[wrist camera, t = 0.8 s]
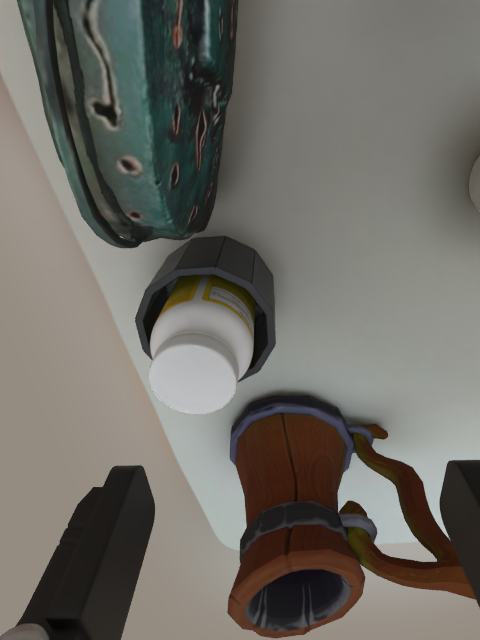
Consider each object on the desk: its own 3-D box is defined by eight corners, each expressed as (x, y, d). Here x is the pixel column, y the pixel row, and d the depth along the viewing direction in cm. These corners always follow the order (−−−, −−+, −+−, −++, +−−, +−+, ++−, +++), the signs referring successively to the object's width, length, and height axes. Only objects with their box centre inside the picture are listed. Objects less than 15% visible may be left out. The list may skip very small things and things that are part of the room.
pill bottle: (181, 327, 31) (142, 425, 21) (172, 254, 28) (121, 331, 18) (257, 327, 31) (252, 427, 21) (256, 253, 28) (249, 331, 18)
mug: (423, 369, 31) (534, 554, 18) (424, 463, 37) (509, 659, 24) (215, 398, 34) (184, 574, 21) (244, 481, 40) (232, 663, 27)
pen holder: (149, 241, 28) (122, 272, 22) (270, 232, 27) (270, 262, 21) (171, 342, 32) (152, 388, 27) (276, 338, 31) (278, 384, 26)
